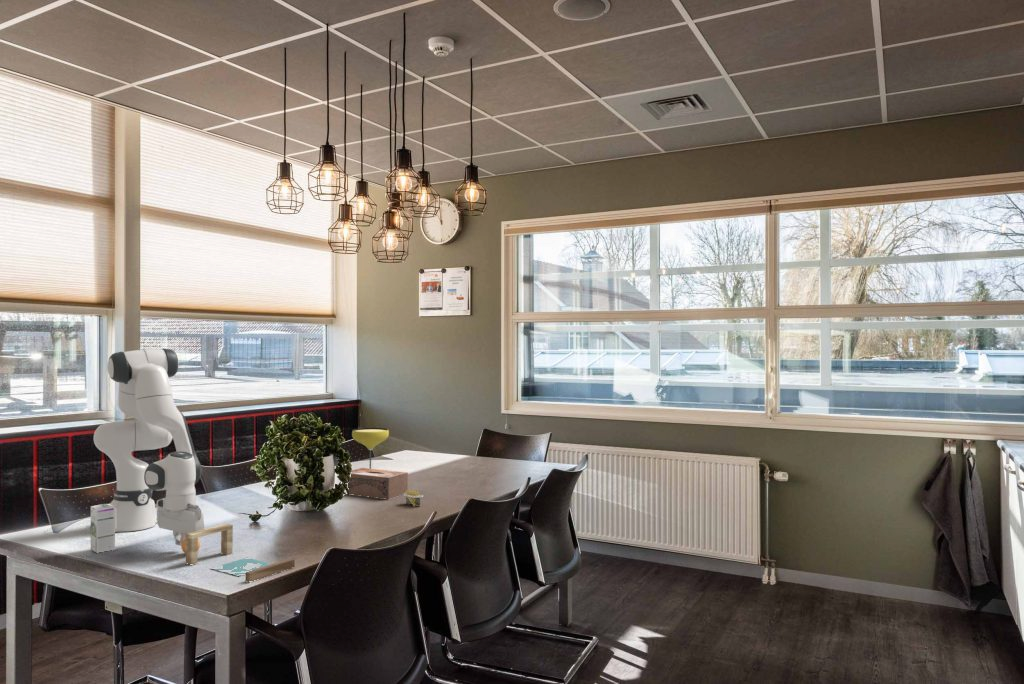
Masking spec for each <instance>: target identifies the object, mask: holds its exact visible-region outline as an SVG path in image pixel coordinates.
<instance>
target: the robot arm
mask: <svg viewBox="0 0 1024 684" xmlns="http://www.w3.org/2000/svg"><path fill="white" fill-rule="evenodd" d="M106 366H107V374H108V375H109V378H110V379H111V380H112V381H114V382H117V383H118V401H117V405H118V409H119V410H120V411H121V412H122V413H123V414H124V415H126V416H129V417H132V418H134V419H136V420H127V421H125V420H124V421H111V422H107V423H102V424H99V426H98V427H97V428H96V429H95V430H94V433H93V443H94V445H95V447H96V448H97V449H98V450H99V451H100V452H102V453H103V454H105V455H106V456H108V458H109V459H110V460H111V461H112V463H113V466H114V468H115V476H116V489H115V490H113V492H112V494H113V497H112V498H113V500H112V501H110V503H109V504H110V505H113V506H115V533H116V532H117V533H118V532H132V531H133V532H134V531H141V530H146V529H150V528H152V527H155V525H156V524H157V526H158V529H159V528H160V529H163V530H168V531H172V536H173V537H174V541H175V543H174V544H175V545H176V546H181V545H182V542H183V541H184V540H185V539H186V534H187V533H191V532H195V531H199V530H203V529H205V520H204V519H205V518H204V513H203V511H202V509H201V507H199V505H198V504H197V502H196V500H197V499H196V498H197V497H196V496H197V494H196V493H197V492H196V491H197V490H196V487H195V485H196V484H197V483H198V482H199V481H200V479H201V477H202V473H203V469H202V468H203V467H202V464H201V462H200V460H199V458H198V455H197V453H196V450H195V446H194V443H193V438H192V437H191V433H190V429H189V425H188V422H187V420H186V417H185V415H184V414H183V412H181V411H180V410H179V409H178V407H177V405H176V404H175V401H174V396H173V390H172V386H171V381H170V378H171V377H175V375H176V374H177V373H178V371H179V366H180V362H179V358H178V355H177V353H176V352H175V351H174V350H173V349H170V348H142V349H136V350H135V349H134V350H127V351H117V352H114V353H112V354H111V355H110V356H109V358H108V361H107V365H106ZM172 441H173V443H174V447H175V450H176V451H172V452H170V453H168V454H167V456H166V457H165V458H163V459H160V460H157V461H154V462H151V463H148V462H146V461H143V460H141V459H138V458H136V457H135V456H133V454H132V453H133V452H136V451H149V450H150V451H151V450H152V451H153V450H157V449H162V448H166V447H168V446H169V445H170V444H171V443H172ZM153 491H158V492H159V491H166V492H165V497H163V498H159V499H158V500H156V504H155V500H153V499H152V497H153ZM196 504H197V505H196ZM155 506H156V507H157V512H156V507H155Z"/></svg>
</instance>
